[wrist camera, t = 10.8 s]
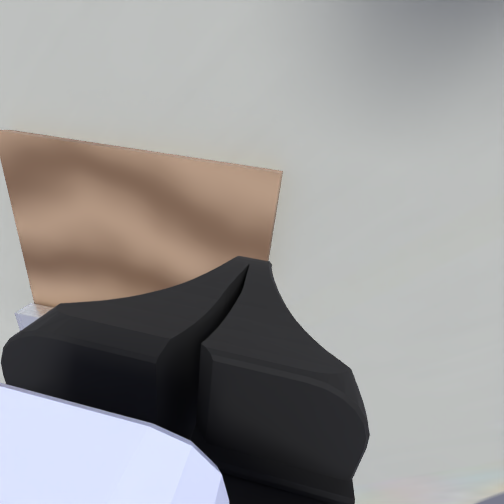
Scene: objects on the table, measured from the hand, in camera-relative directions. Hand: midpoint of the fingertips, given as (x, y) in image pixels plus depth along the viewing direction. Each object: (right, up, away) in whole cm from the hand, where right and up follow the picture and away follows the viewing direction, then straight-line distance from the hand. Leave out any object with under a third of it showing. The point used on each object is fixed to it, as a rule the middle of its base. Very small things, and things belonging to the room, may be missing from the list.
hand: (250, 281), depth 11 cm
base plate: (-9, -1, +13) cm, 15 cm away
